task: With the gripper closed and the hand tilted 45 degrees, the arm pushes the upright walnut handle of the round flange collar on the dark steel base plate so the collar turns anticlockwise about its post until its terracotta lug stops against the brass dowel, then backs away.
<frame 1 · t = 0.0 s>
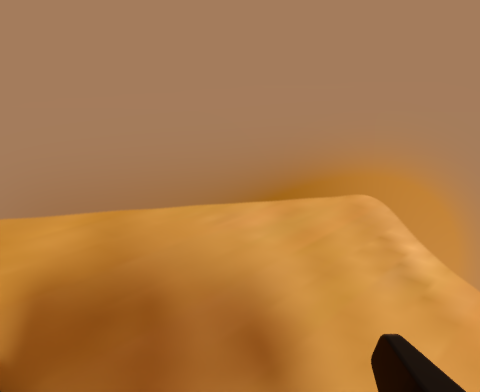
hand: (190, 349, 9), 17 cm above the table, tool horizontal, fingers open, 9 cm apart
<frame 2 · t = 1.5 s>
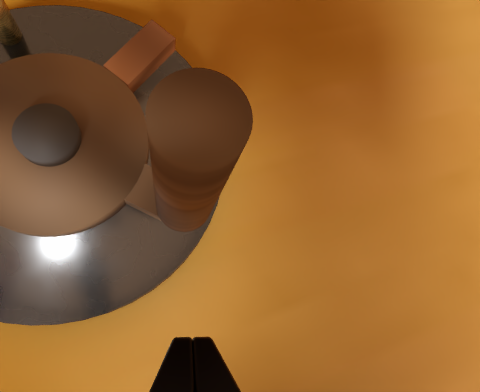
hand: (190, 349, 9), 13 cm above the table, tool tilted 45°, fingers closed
flange: (85, 72, 16), point 8 cm above the table, hinge at 0.0°
post base: (65, 159, 22), on the table
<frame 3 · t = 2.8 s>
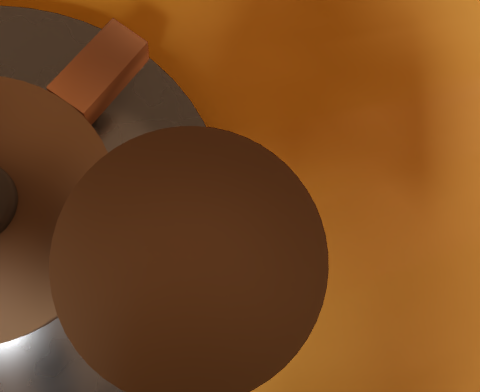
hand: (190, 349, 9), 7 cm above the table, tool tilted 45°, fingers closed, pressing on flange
post base: (6, 220, 16), on the table
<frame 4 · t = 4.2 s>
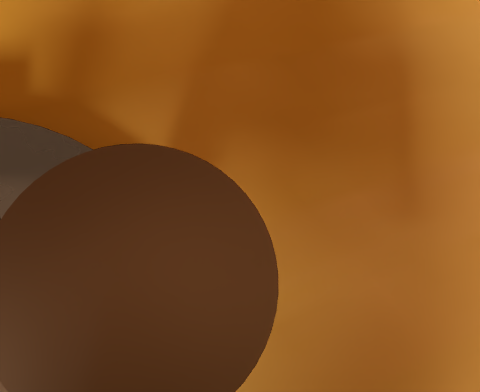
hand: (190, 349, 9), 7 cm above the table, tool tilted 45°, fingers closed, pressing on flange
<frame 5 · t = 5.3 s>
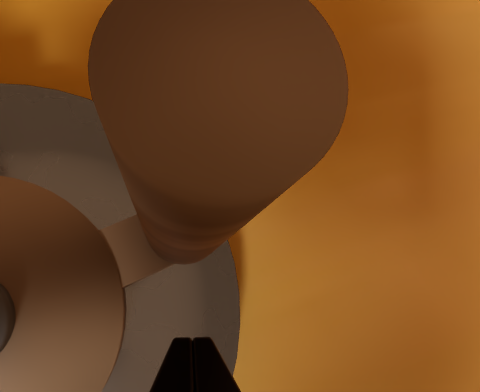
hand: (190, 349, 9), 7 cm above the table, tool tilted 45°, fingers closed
post base: (4, 315, 15), on the table
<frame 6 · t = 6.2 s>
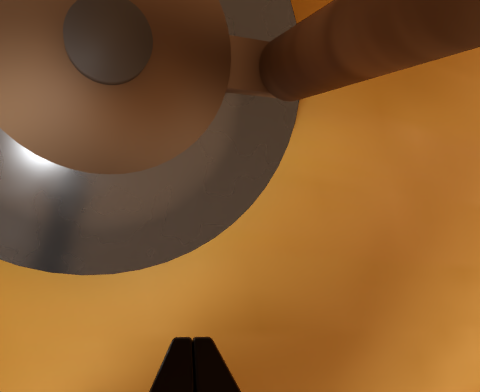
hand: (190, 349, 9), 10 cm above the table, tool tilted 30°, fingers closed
post base: (103, 64, 17), on the table
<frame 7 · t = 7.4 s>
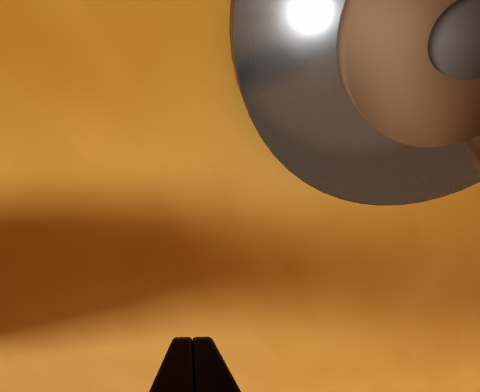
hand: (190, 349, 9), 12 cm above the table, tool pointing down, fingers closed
post base: (422, 23, 18), on the table
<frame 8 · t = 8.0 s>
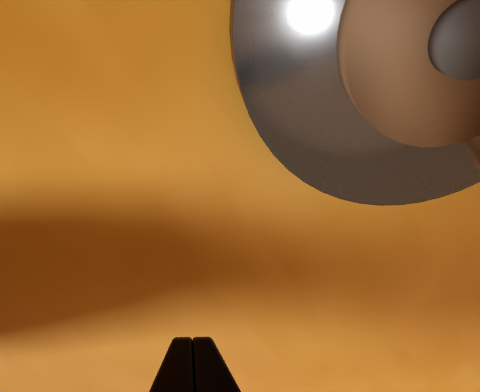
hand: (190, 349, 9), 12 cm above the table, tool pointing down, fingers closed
post base: (422, 23, 18), on the table
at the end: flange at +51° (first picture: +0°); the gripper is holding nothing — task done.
